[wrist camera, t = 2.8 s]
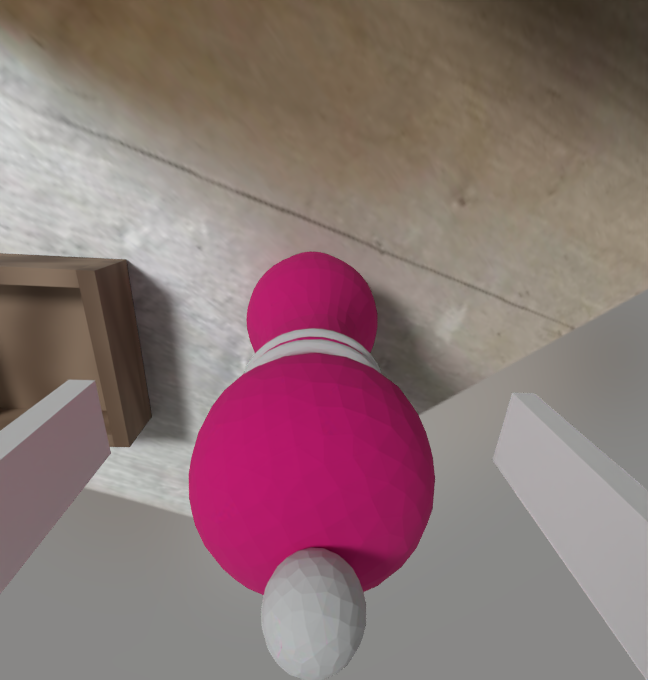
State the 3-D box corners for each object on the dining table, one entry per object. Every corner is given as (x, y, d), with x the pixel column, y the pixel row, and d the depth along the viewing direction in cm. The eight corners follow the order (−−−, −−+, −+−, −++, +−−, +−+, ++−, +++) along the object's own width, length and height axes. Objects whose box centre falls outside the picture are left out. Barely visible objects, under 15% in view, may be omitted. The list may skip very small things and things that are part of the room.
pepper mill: (380, 324, 24) (590, 724, 6) (286, 361, 25) (219, 808, 7) (342, 225, 22) (510, 394, 3) (239, 270, 23) (-79, 603, 4)
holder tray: (126, 259, 22) (94, 270, 19) (151, 416, 27) (129, 446, 24) (-73, 249, 22) (-141, 259, 18) (-11, 412, 26) (-57, 442, 23)
